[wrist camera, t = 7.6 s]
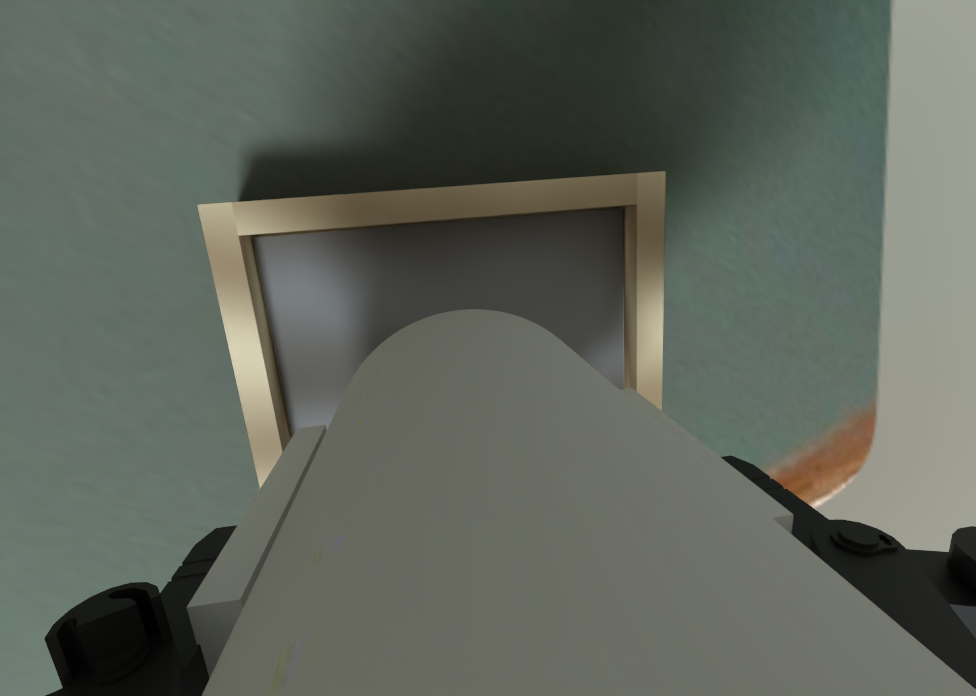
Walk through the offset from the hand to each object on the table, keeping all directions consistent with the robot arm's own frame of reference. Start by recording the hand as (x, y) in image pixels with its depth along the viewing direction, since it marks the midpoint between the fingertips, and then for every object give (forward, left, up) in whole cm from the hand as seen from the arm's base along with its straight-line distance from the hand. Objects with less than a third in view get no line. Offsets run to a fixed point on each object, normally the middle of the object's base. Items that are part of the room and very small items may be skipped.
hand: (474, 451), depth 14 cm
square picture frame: (0, 0, -7) cm, 7 cm away
